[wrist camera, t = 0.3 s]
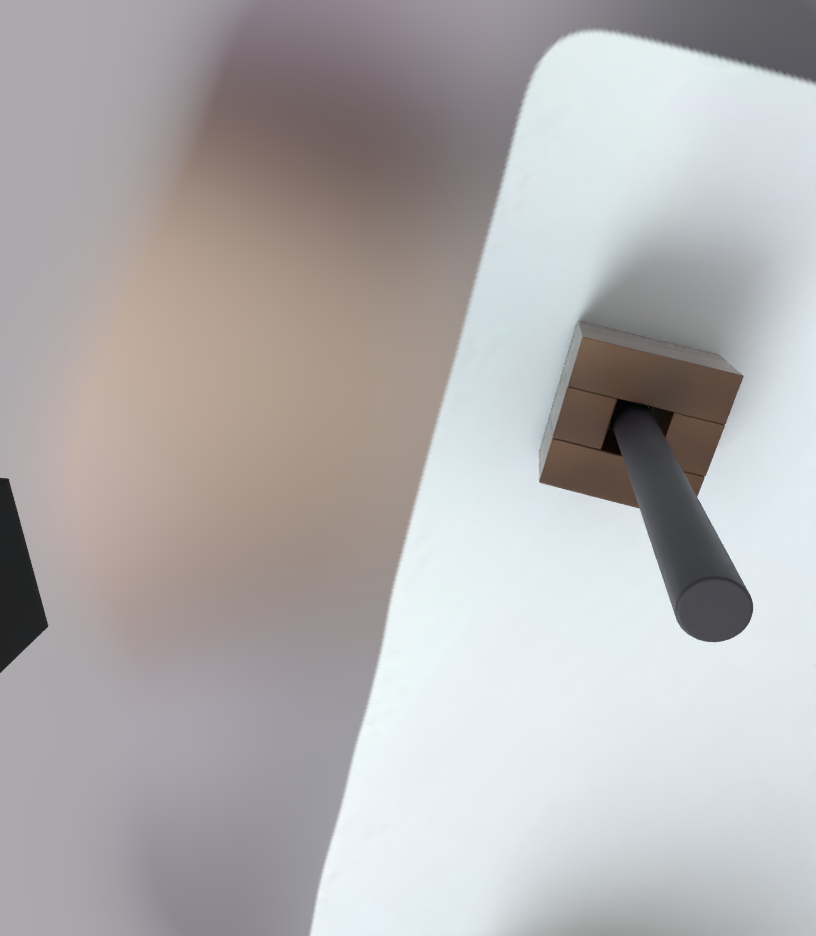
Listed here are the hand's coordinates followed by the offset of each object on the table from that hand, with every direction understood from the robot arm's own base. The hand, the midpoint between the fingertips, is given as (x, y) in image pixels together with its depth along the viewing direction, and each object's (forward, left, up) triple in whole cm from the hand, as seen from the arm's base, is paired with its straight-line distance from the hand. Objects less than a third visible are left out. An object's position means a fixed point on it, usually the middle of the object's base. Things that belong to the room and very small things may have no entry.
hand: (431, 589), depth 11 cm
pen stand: (-1, +7, -28) cm, 29 cm away
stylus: (-1, +7, -28) cm, 29 cm away
